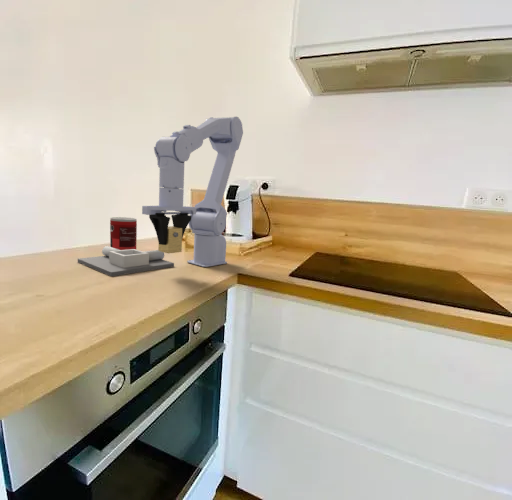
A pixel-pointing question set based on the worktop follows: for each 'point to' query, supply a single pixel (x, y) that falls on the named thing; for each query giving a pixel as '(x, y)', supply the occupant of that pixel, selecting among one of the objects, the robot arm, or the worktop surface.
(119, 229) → the canned food
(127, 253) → the shaft board
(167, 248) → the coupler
